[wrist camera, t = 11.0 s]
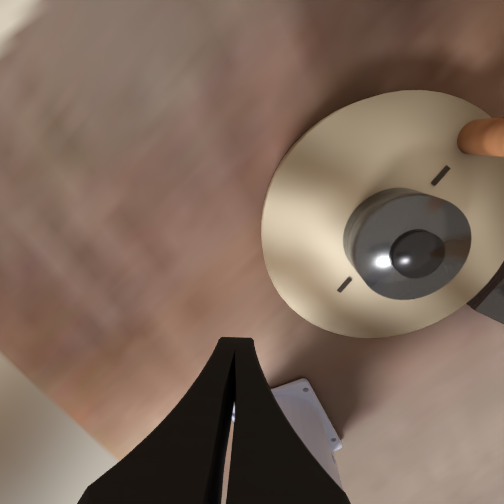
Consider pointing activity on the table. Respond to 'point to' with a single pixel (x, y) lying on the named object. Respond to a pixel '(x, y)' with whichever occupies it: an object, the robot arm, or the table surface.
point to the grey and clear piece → (491, 297)
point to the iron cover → (406, 242)
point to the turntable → (370, 182)
